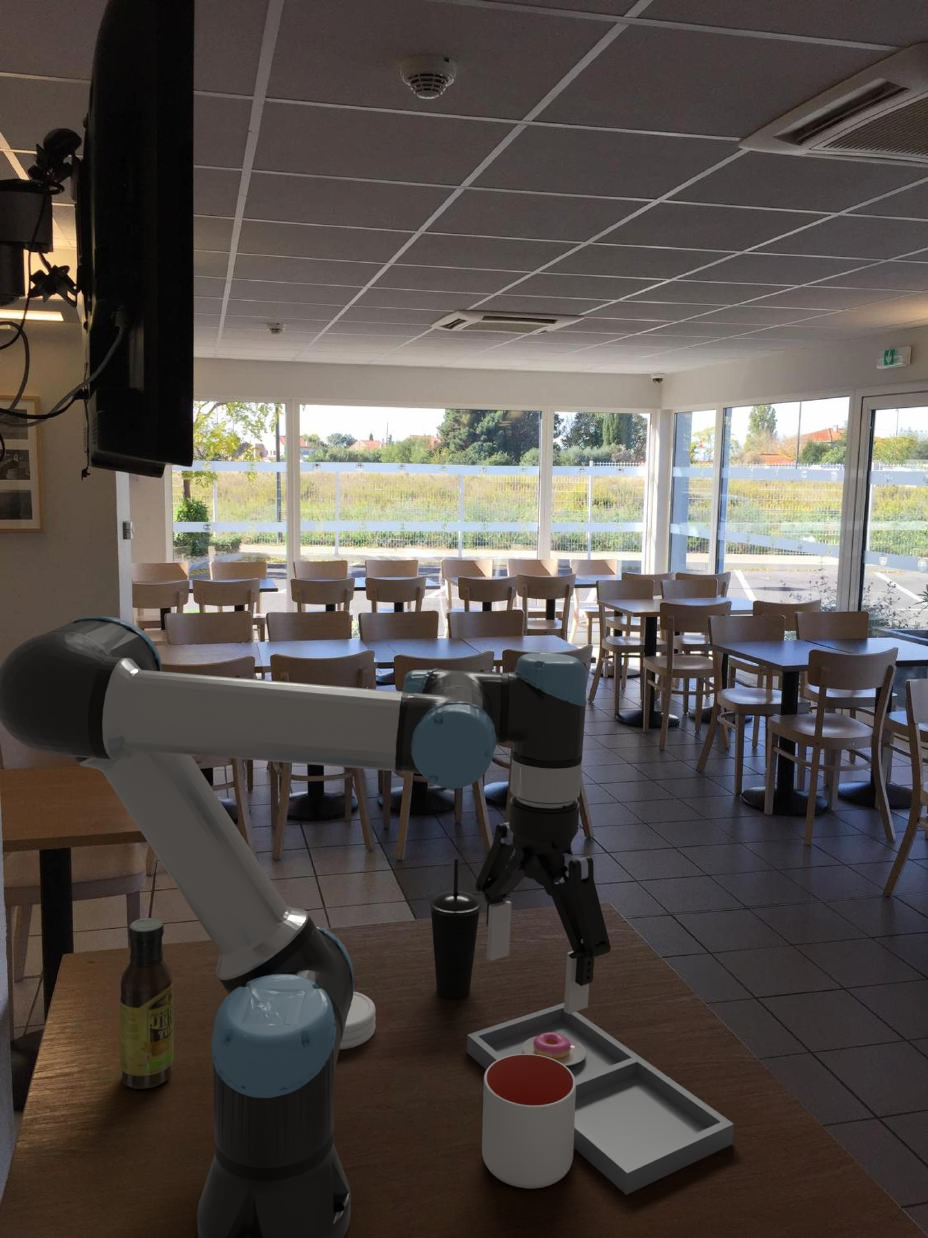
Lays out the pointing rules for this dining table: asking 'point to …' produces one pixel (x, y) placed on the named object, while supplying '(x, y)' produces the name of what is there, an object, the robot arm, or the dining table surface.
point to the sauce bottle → (146, 1009)
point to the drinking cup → (454, 938)
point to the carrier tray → (617, 1101)
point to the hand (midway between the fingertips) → (534, 982)
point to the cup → (528, 1120)
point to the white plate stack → (359, 1022)
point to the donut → (555, 1048)
